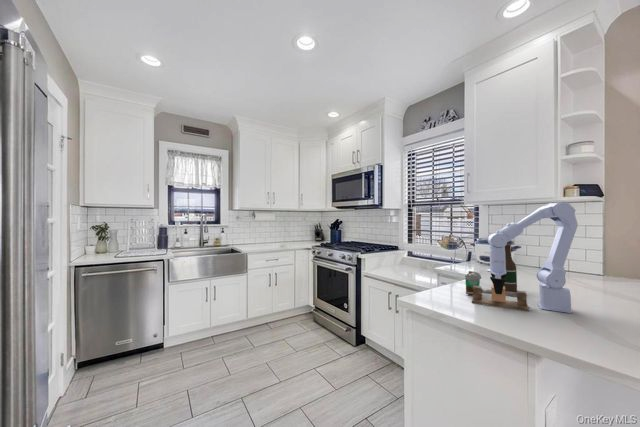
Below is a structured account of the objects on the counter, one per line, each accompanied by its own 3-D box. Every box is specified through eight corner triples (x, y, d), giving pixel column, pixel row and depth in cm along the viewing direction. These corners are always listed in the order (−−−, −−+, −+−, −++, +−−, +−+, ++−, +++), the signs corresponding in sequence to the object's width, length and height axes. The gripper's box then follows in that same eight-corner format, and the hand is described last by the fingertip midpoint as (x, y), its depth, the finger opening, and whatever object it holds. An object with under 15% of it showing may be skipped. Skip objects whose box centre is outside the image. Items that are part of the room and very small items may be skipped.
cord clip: (505, 298, 114) (505, 286, 114) (505, 302, 110) (505, 289, 110) (491, 297, 117) (491, 284, 117) (491, 300, 113) (491, 287, 113)
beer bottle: (502, 292, 130) (500, 244, 130) (496, 288, 137) (495, 243, 138) (520, 293, 128) (519, 245, 128) (513, 289, 135) (512, 243, 135)
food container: (480, 297, 122) (479, 276, 122) (465, 295, 126) (465, 275, 126) (483, 291, 132) (482, 272, 132) (469, 289, 136) (468, 270, 136)
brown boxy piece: (527, 305, 111) (526, 290, 111) (529, 311, 104) (528, 295, 104) (473, 297, 122) (472, 284, 122) (471, 302, 116) (471, 288, 116)
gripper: (487, 257, 122) (488, 286, 122) (486, 262, 110) (487, 294, 110) (505, 258, 118) (506, 288, 118) (506, 264, 106) (507, 297, 106)
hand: (498, 291), depth 113 cm, fingers open, 7 cm apart
